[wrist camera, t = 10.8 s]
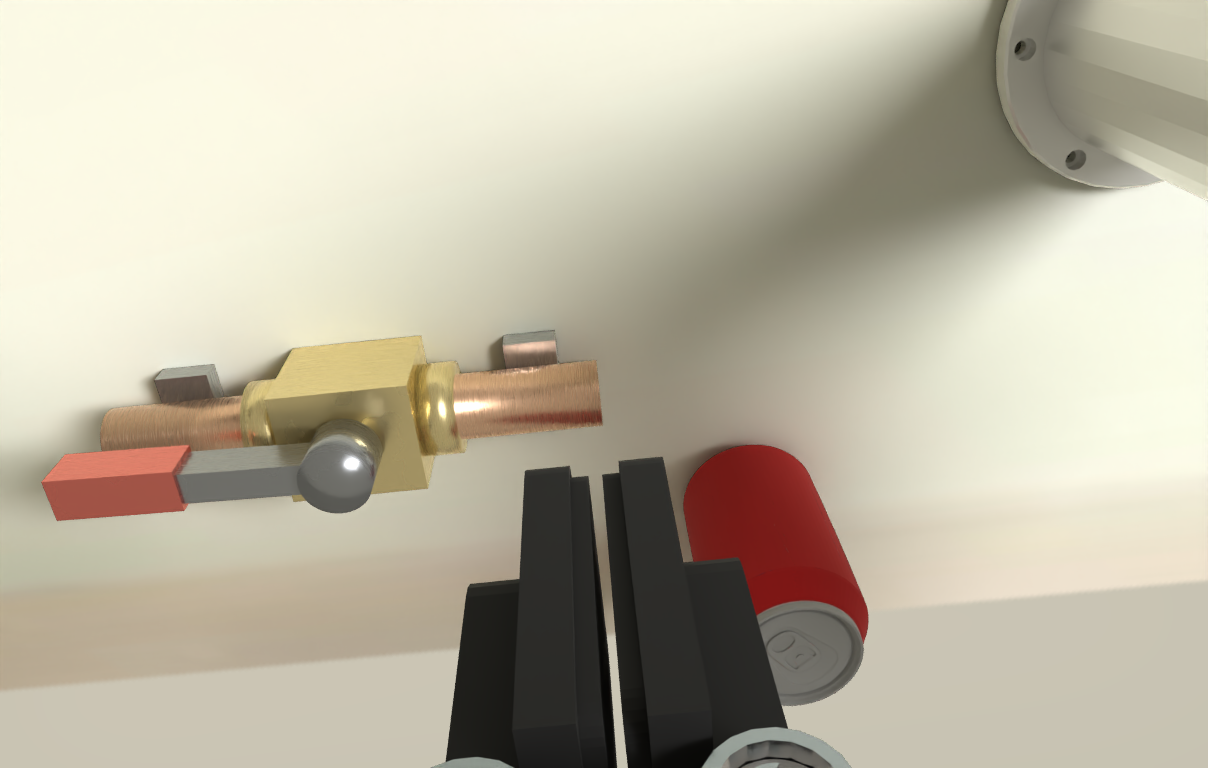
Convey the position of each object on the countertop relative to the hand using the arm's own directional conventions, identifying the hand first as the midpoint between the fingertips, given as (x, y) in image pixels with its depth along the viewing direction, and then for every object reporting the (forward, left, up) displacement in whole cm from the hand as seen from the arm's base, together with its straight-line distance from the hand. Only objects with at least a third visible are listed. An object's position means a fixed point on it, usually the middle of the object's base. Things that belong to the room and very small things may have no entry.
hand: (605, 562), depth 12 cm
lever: (+16, +13, -26) cm, 33 cm away
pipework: (+11, +13, -31) cm, 35 cm away
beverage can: (-7, +21, -31) cm, 38 cm away
